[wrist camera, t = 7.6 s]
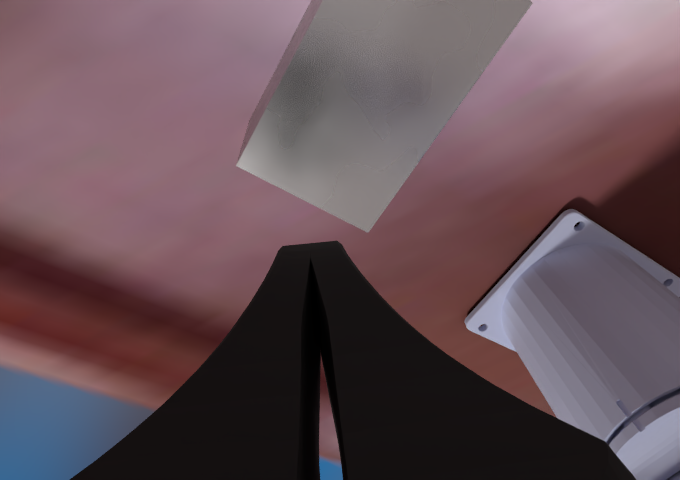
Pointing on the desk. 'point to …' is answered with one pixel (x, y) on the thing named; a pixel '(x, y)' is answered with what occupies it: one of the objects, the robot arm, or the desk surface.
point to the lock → (369, 96)
